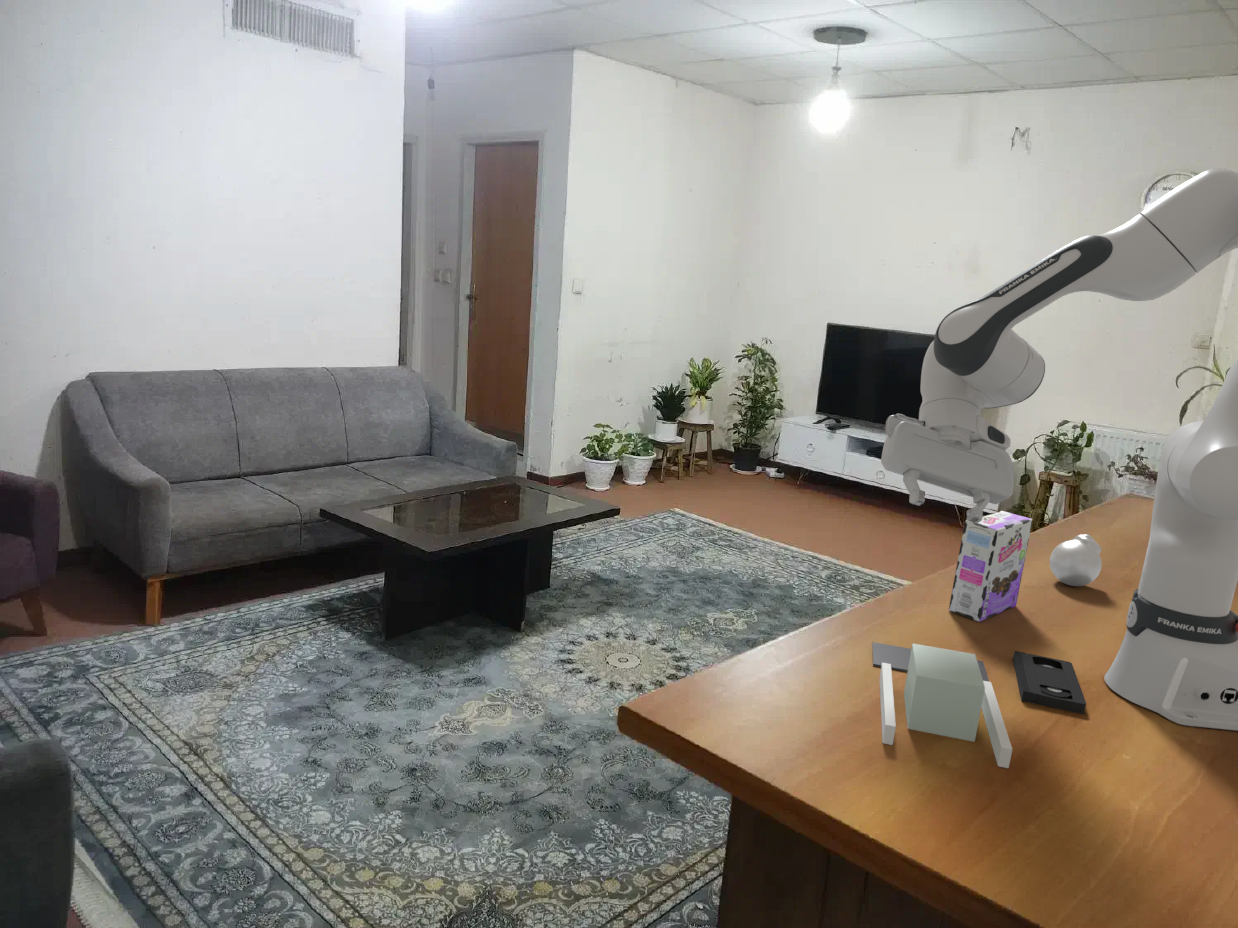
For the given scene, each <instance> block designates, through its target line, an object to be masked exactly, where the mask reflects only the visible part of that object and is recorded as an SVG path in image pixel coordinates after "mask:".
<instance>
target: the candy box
mask: <svg viewBox="0 0 1238 928" xmlns="http://www.w3.org/2000/svg"><path fill="white" fill-rule="evenodd" d="M1032 524H1033V518H1031V517H1030V518H1029V517H1026V516H1023V515H1019V514H1015V513H1013V512H1008V511H1005V510H999V512H996V513H990V514H987V515H983V518H982V521H980V522H979V523H973V522H970V521H967V519H966V520H965V521H964V524H963V525H964V526H963V531H962V537H961V541H960V547H959V551H958V556H957V563H956V568H955V574H954V579H953V585H952V590H951V595H950V599H949V606H948V611H949V612H953V613H955V614H958V615H960V616H963V617H965V618H968V619H971V620H973V621H976V622H983V621H985V620H987V619H989V618H991V617H993V616H995V615H998V614H1001V613H1002V612H1005V611H1008V610H1010V609H1012V608H1014V607H1016V606H1017V604H1018V597H1019V592H1020V588H1021V587H1020V586H1021V582H1022V576H1023V572H1024V566H1025V562H1026V555H1027V551H1028V546H1029V541H1030V536H1031V530H1032V529H1031V528H1032V526H1033V525H1032Z"/></svg>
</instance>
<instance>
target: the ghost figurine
mask: <svg viewBox="0 0 1238 928" xmlns="http://www.w3.org/2000/svg"><path fill="white" fill-rule="evenodd" d="M1101 551H1102V547H1101V546H1100V545H1099V544H1098V543H1097V541H1096V540H1095V539H1094V537H1092V536H1091V535H1090V534H1088V533H1087V534H1086V533H1085V534H1083V533H1082V534H1078V535H1076V536H1075V537H1074V538H1072V539H1070V540H1066V541H1063V542H1061V543H1059V544H1058V545H1057V546H1056V547H1054V549H1053V551H1051V554H1050V557H1049V567H1050V570H1051V572H1052V574H1053V576H1054V577H1055V578H1056V579H1058V581H1060V582H1061V583H1063V584H1065V585H1068V586H1070V587H1082V586H1083V587H1084V586H1087V585H1089V584H1091V583H1093V582H1094V581H1095V580H1096V579H1097V578H1098V576H1099V575H1100V573H1101V570H1102V566H1103V565H1102V564H1103V563H1102V557H1101V556H1100V553H1101Z"/></svg>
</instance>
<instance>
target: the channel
mask: <svg viewBox="0 0 1238 928" xmlns="http://www.w3.org/2000/svg"><path fill="white" fill-rule="evenodd" d="M871 645H872V666H873V667H879V668H880V672H879V673H880V674H879V697H880V699H879V700H880V718H881V720H880V721H881V723H880V724H881V739H882V741H881V742H882V744H884V745H890V746H893V745H894V739H895V733H896V729H897V724H896V712H895V711H896V710H895V699H894V698H895V697H894V686H893V675H892V674H893V673H892V672H893V671H892V670H895V671H901V672H905V671H906V672H905V673H907V672H908V666H909V660H910V654H911V648H910V647H904V646H897V645H894V644H893V645H891V644H887V643H880V642H874V641H872V643H871ZM977 662H978V666H979V669H980V672H981V676H982V679H983V682H984V686H985V690H984V696H983V701H982V706H981V711H982V714H983V717H984V722H985V725H986V729H987V732H988V733H987V734H988V736H989V740H990V743H991V747H992V751H993V753H994V754H993V755H994V757H995V761H996V765H997V767H999V768H1005V769H1009V768H1010V764H1011V758H1012V753H1013V746H1012V743H1011V741H1010V737H1009V734H1008V731H1007V728H1006V725H1005V722H1004V718H1003V715H1002V712H1001V710H1000V706H999V703H998V702H999V701H998V700H997V696H996V694H995V690H994V687H993V683H992V682H991V681H990V679H989V676H988V672H987V670H986V669H987V668H986V666H985V664H984V661H983V660H978V659H977Z"/></svg>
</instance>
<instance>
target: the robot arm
mask: <svg viewBox="0 0 1238 928" xmlns="http://www.w3.org/2000/svg"><path fill="white" fill-rule="evenodd" d="M1235 249H1238V172H1237V171H1234V170H1232V169H1227V168H1223V167H1221V168H1219V167H1218V168H1217V167H1216V168H1210V169H1207V170H1204V171H1202V172H1200V173H1198V174H1197V175H1195V176H1193V177H1191V178H1189V179H1188V180H1186V181H1184V182H1183V183H1181V184H1180V185H1177V186H1176V187H1174V188H1173V189H1171V190H1169V191H1168V192H1166V193H1165V194H1164V195H1162V196H1161V197H1159V198H1158V199H1156V200H1155V201H1154V202H1152V203H1150V204H1149V205H1148V206H1146V207H1145V208H1144V209H1143V210H1141V211H1140V212H1139V213H1138V214H1136V215H1135V216H1134V217H1132V218H1131V219H1128V220H1127V221H1126V222H1125V223H1123V224H1121V225H1120V226H1117V227H1115V228H1114V229H1111V230H1109V231H1106V232H1104V233H1102V234H1098V235H1094V234H1093V235H1086V236H1082V237H1080V238H1078V239H1075V240H1072V241H1071V242H1070V243H1067V244H1066V245H1064V246H1062V247H1060V248H1058V249H1057V250H1055V251H1053V252H1052V253H1050V254H1048V255H1047V256H1045V257H1044V258H1042V259H1041V260H1039V261H1037V262H1035V263H1034V264H1033V265H1031V266H1029V267H1028V268H1026V269H1025V270H1023V271H1022V272H1020V273H1018V274H1017V275H1015V276H1014V277H1012V278H1010V279H1008V280H1007V281H1005V282H1004V283H1002V284H1001V285H1000V286H998V287H996V288H994V289H993V290H992V291H990V292H988V293H985V295H982V296H981V297H978V298H977V299H975V300H973V301H970V302H967V303H965V304H962V305H961V306H959V307H957V308H956V309H953V310H952V311H951V312H949V313H948V314H947V315H945V316H944V318H942V320H941V322H939V324H938V326H937V328H936V330H935V333H934V338H933V341H931V343H930V344H929V346H928V348H927V350H926V351H925V355H924V357H923V362H922V367H921V374H920V394H921V397H922V398H921V399H922V402H921V404H920V407H919V411H918V419H917V418H915V417H914V418H913V417H910V416H906V415H905V414H902V413H896V414H892V415H889V416H888V417H887V419H886V421H885V434H886V437H885V440H884V444H883V448H882V452H881V458H880V462H881V464H882V467H883V468H884V470H886V471H888V472H892V473H895V474H897V475H901V476H903V477H902V481H903V484H904V486H905V488H906V490H907V492H908V493H909V497H908V498H909V499H908V500H909V503H910V504H912V505H916V506H921V505H924V503H925V501H926V498H925V496H926V491H925V490H922V489H921V488H920V485H919V483H918V481H919V482H923V483H925V484H929V485H933V486H936V487H940V488H942V489H944V490H949V491H951V492H954V493H958V494H961V495H965V496H968V497H971V498H972V501H973V504H975V506H973V507H971V508H969V509H968V510H966V520H967V521H970V522H973V523H979V522H980V521H982V518H983V516H984V515H983V514H984V510H985V508H986V507H987V506H988V505H989V504H994V505H997V504H1000V503H1003V502H1004V501H1006V500H1008V499H1009V498H1010V497H1011V496H1012V495H1013V493H1014V489H1015V488H1014V486H1015V485H1014V482H1015V481H1014V479H1015V477H1014V466H1013V465H1014V464H1013V460H1012V458H1011V456H1010V454H1009V453H1008V452H1007V450H1008V449H1009V448H1010V447H1011V438H1010V436H1009V435H1007V433H1005V432H1004V431H1002V430H1000V429H999V428H997V427H996V426H994V425H993V424H992V423H990V422H989V421H988V420H987V419H985V418H984V417H983V416H982V415H981V410H982V409H997V408H1002V407H1008V406H1012V405H1016V404H1019V403H1022V402H1024V401H1026V400H1027V399H1029V398H1031V397H1032V396H1033V395H1034V394H1035V393H1036V392H1037V390H1038V389H1039V387H1040V386H1041V384H1042V382H1043V381H1044V377H1045V372H1046V363H1045V360H1044V357H1043V356H1042V355H1041V354H1039V352H1038V351H1037V350H1036V349H1035V348H1034V347H1033V346H1032V345H1030V343H1028V342H1027V341H1026V340H1025V339H1024V338H1022V337H1021V336H1020V335H1019V334H1018V333H1016V332H1015V330H1013V328H1014V327H1015V326H1016V325H1018V324H1020V323H1021V322H1022V321H1024V320H1026V319H1028V318H1029V317H1031V316H1033V315H1035V313H1037V312H1039V311H1041V310H1042V309H1044V308H1046V307H1047V306H1049V305H1050V304H1053V302H1054V303H1055V301H1057V300H1059V299H1060V298H1063V297H1064V296H1067V295H1069V294H1073V293H1079V292H1089V293H1091V292H1092V293H1097V294H1098V293H1099V294H1104V295H1107V296H1110V297H1113V298H1117V299H1120V300H1125V301H1131V302H1147V301H1154V300H1156V299H1159V298H1161V297H1163V296H1165V295H1167V294H1169V293H1171V292H1172V291H1174V290H1176V289H1178V288H1179V287H1180V286H1182V285H1183V284H1185V283H1186V282H1187V281H1188V280H1190V279H1191V278H1192V277H1194V276H1195V275H1197V274H1199V273H1200V271H1202V270H1203V269H1205V268H1206V267H1208V266H1209V265H1210V264H1211V263H1213V262H1214V261H1216V260H1217V259H1218V258H1220V257H1222V256H1224V255H1225V254H1227V253H1228V252H1230V251H1232V250H1235ZM1157 470H1158V471H1157V477H1156V484H1155V490H1154V498H1153V505H1152V512H1151V513H1152V514H1151V521H1150V522H1151V524H1150V532H1149V533H1150V534H1149V540H1148V543H1147V549H1146V552H1145V558H1144V561H1143V567H1142V571H1141V575H1140V578H1139V579H1140V580H1139V583H1138V588H1137V589H1135V590H1134V591H1133V594H1132V599H1131V601H1130V603H1129V606H1128V611H1127V615H1126V624H1125V627H1126V630H1125V634H1124V637H1123V639H1122V643H1121V645H1120V648H1119V649H1118V652H1117V654H1116V656H1115V658H1114V660H1113V662H1112V664H1110V667H1109V669H1108V670H1107V671H1106V673H1105V674H1104V682H1105V683H1106V685H1107V687H1109V688H1110V690H1112V691H1113V692H1115V693H1116V694H1118V695H1119V696H1121V697H1122V698H1124V699H1126V700H1128V701H1130V702H1131V703H1134V704H1136V705H1137V706H1140V707H1142V708H1146V709H1147V710H1151V711H1153V712H1154V713H1158V714H1159V715H1161V716H1162V717H1164V718H1166V719H1168V720H1169V721H1172V722H1174V723H1175V724H1179V725H1183V726H1187V727H1188V726H1189V727H1198V728H1209V729H1219V730H1227V731H1238V614H1236V612H1234V611H1233V610H1231V608H1232V604H1233V599H1234V596H1235V593H1236V588H1237V585H1238V357H1237V358H1236V360H1235V361H1234V362H1233V364H1232V365H1231V367H1230V368H1229V369H1228V371H1227V372H1226V375H1225V378H1224V381H1223V383H1222V385H1221V388H1220V390H1219V392H1218V393H1217V396H1216V397H1215V399H1214V401H1213V403H1212V405H1211V407H1210V409H1209V410H1208V412H1207V414H1206V416H1205V418H1204V420H1198V421H1193V422H1190V423H1187V424H1183V425H1181V426H1179V427H1178V428H1176V430H1174V431H1173V432H1171V433H1170V434H1169V436H1167V439H1166V440H1165V442H1164V443H1163V445H1162V448H1161V452H1160V458H1159V465H1158V469H1157Z"/></svg>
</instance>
